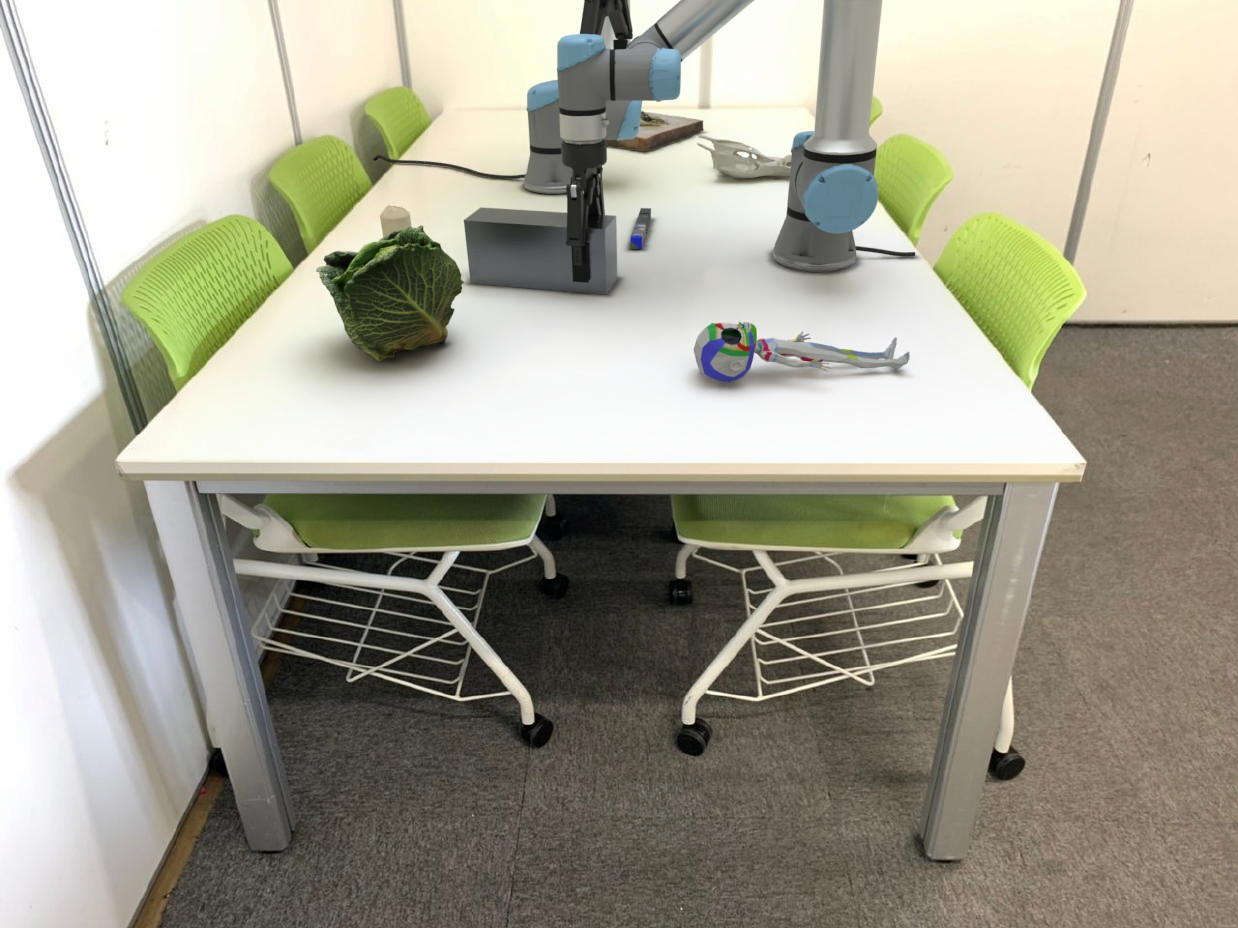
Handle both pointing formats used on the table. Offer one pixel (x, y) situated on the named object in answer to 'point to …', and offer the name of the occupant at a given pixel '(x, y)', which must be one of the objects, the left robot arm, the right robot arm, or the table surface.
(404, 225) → the candle
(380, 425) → the table surface
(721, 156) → the anatomical model
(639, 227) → the pillar
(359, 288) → the vegetable
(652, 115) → the plaque
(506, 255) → the box
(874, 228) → the table surface
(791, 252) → the right robot arm
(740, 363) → the toy
